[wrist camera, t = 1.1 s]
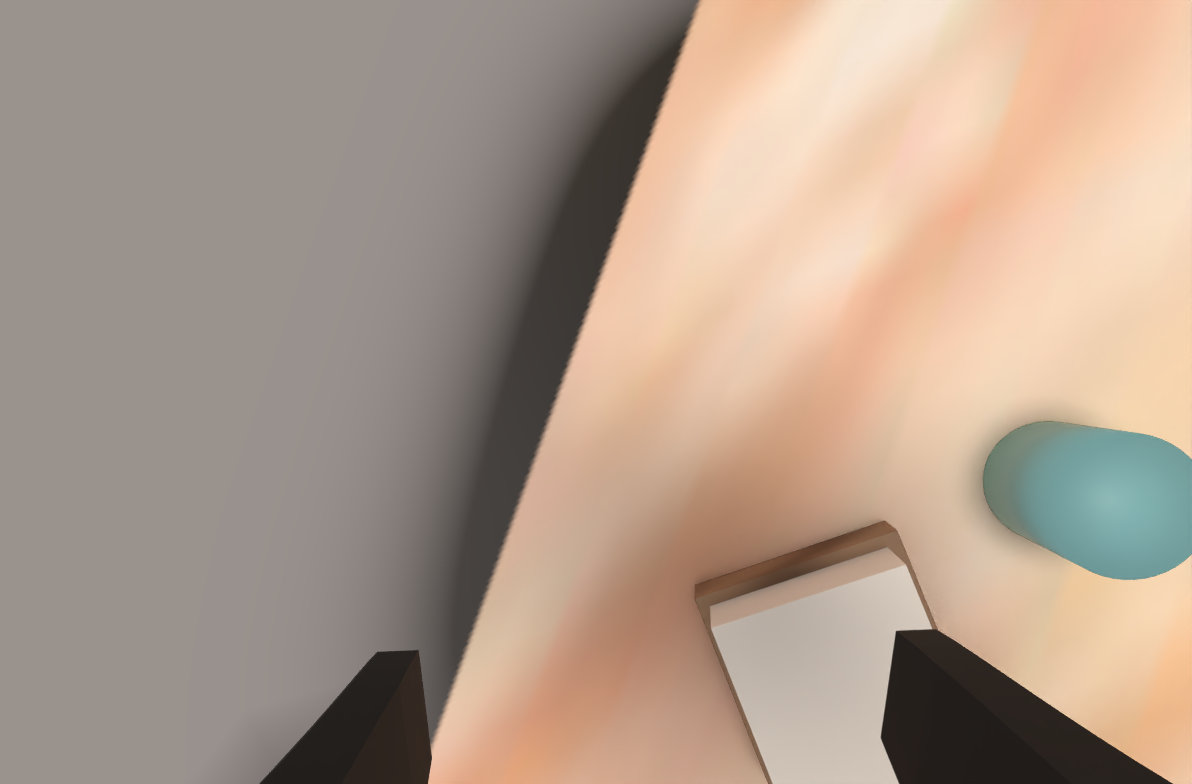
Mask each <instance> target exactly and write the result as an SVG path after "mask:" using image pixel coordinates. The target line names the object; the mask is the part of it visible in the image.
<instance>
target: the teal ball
mask: <svg viewBox="0 0 1192 784" xmlns="http://www.w3.org/2000/svg"><path fill="white" fill-rule="evenodd" d="M983 488H984V493H985V497H986V500H987V503H988V505H989V507H990V509H991V510H992V512H993V513H994V515H995V516H996V517H997V518H998V519H999V521H1000V522H1001V523H1003V524H1004V525H1005V526H1006V527H1007V528H1009V529H1010V530H1012V531H1013V532H1015V533H1017V534H1019V535H1021V536H1023V537H1025V538H1027V539H1029V540H1030V541H1032V542H1034V543H1036V544H1038V545H1040V546H1042V547H1044V548H1046V549H1048V550H1050V551H1052V552H1054V553H1056V554H1058V555H1060V556H1062V557H1063V558H1065V559H1067V560H1069V561H1071V562H1073V563H1075V564H1077V565H1079V566H1081V567H1083V568H1085V569H1087V570H1089V571H1091V572H1093V573H1096V574H1098V575H1101V576H1105V577H1109V578H1113V579H1122V580H1136V579H1145V578H1149V577H1153V576H1157V575H1160V574H1162V573H1165V572H1167V571H1169V570H1171V569H1173V568H1175V567H1176V566H1178V565H1179V564H1181V563H1182V562H1184V561H1185V560H1186V559H1187V558H1188V557H1189V556H1190V555H1191V554H1192V459H1191V458H1190V457H1189V456H1188V455H1186V454H1185V453H1184V452H1183V451H1182V450H1180V449H1179V448H1177V447H1176V446H1174V445H1172V444H1171V443H1169V442H1167V441H1164V440H1162V439H1160V438H1157V437H1154V436H1150V435H1145V434H1140V433H1133V432H1126V431H1119V430H1112V429H1105V428H1098V427H1091V426H1084V425H1077V424H1070V423H1063V422H1053V421H1046V422H1036V423H1032V424H1028V425H1025V426H1022V427H1020V428H1018V429H1016V430H1014V431H1012V432H1011V433H1009V434H1008V435H1006V436H1005V437H1004V438H1003V439H1002V440H1001V441H1000V442H999V443H998V444H997V445H996V446H995V447H994V449H993V450H992V452H991V454H990V455H989V457H988V460H987V462H986V465H985V469H984V475H983Z"/></svg>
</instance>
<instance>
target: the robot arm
mask: <svg viewBox="0 0 1192 784" xmlns="http://www.w3.org/2000/svg"><path fill="white" fill-rule="evenodd" d="M880 738H881V740H882V743H883V745H884V748H885V750H886V753H887V755H888V758H889V760H890V763H891V765H892V768H893V770H894V773H895V775H896V778H897V780H898V782H899V784H1172V783H1171V782H1169V781H1168V780H1166V779H1164V778H1163V777H1161V776H1159V775H1158V774H1156V773H1154V772H1153V771H1151V770H1150V769H1148V768H1146V767H1145V766H1143V765H1141V764H1140V763H1138V762H1137V761H1135V760H1133V759H1132V758H1130V757H1129V756H1127V755H1125V754H1124V753H1122V752H1121V751H1119V750H1118V749H1116V748H1114V747H1113V746H1111V745H1110V744H1108V743H1107V742H1105V741H1104V740H1102V739H1100V738H1099V737H1097V736H1096V735H1094V734H1093V733H1091V732H1090V731H1088V730H1087V729H1085V728H1084V727H1082V726H1081V725H1079V724H1078V723H1076V722H1075V721H1073V720H1072V719H1070V718H1069V717H1067V716H1065V715H1064V714H1062V713H1061V712H1059V711H1058V710H1056V709H1055V708H1053V707H1052V706H1051V705H1049V704H1048V703H1046V702H1045V701H1043V700H1042V699H1040V698H1039V697H1037V696H1036V695H1034V694H1033V693H1031V692H1030V691H1028V690H1027V689H1025V688H1024V687H1022V686H1021V685H1020V684H1018V683H1017V682H1015V681H1014V680H1012V679H1011V678H1009V677H1008V676H1006V675H1005V674H1003V673H1002V672H1000V671H999V670H997V669H996V668H995V667H993V666H992V665H990V664H989V663H987V662H986V661H984V660H983V659H981V658H980V657H978V656H977V655H975V654H974V653H972V652H971V651H969V650H968V649H966V648H965V647H963V646H962V645H960V644H959V643H957V642H956V641H954V640H953V639H951V638H949V637H948V636H946V635H944V634H943V633H941V632H940V631H938V630H936V629H924V630H900V631H896V634H895V641H894V647H893V654H892V661H891V668H890V675H889V682H888V689H887V696H886V703H885V710H884V716H883V723H882V730H881V737H880ZM431 761H432V755H431V747H430V739H429V732H428V723H427V715H426V707H425V699H424V691H423V682H422V674H421V667H420V658H419V651H418V650H414V651H388V652H377V653H376V654H375V655H374V656H373V657H372V658H371V659H370V660H369V661H368V662H367V663H366V665H365V666H364V667H363V668H362V669H361V670H360V672H359V673H358V674H357V675H356V676H355V677H354V679H353V680H352V681H351V682H350V683H349V684H348V686H347V687H346V688H345V689H344V690H343V691H342V693H341V694H340V695H339V696H338V697H337V698H336V699H335V701H334V702H333V703H332V704H331V705H330V706H329V708H328V709H327V710H326V711H325V712H324V713H323V714H322V716H321V717H320V718H319V719H318V720H317V721H316V722H315V723H314V725H313V726H312V727H311V728H310V729H309V730H308V731H307V732H306V734H305V735H304V736H303V737H302V738H301V739H300V740H299V741H298V742H297V744H295V746H294V747H293V748H292V749H291V750H290V751H289V752H288V753H287V754H286V755H285V757H284V758H283V759H282V760H281V761H280V762H279V763H278V764H277V765H276V766H275V768H274V769H273V770H272V771H271V772H270V773H269V774H268V775H267V776H266V777H265V778H264V779H263V781H261V783H260V784H428V779H429V773H430V767H431Z"/></svg>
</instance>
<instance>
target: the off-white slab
mask: <svg viewBox="0 0 1192 784" xmlns="http://www.w3.org/2000/svg"><path fill="white" fill-rule="evenodd" d="M710 617H711V630H712V632H713V635H714V637H715V640H716V642H717V645H718V647H719V650H720V652H721V655H722V657H723V660H724V662H725V665H726V667H727V670H728V673H729V675H730V678H731V680H732V683H733V685H734V688H735V690H736V693H737V695H738V698H739V700H740V703H741V705H742V708H743V710H744V713H745V715H746V718H747V720H748V723H749V725H750V728H751V730H752V733H753V735H754V738H755V741H756V743H757V746H758V748H759V751H760V753H761V756H762V758H763V761H764V763H765V766H766V768H767V771H768V773H769V776H770V778H771V781H772V783H773V784H899V782H898V780H897V778H896V775H895V773H894V770H893V768H892V765H891V763H890V760H889V758H888V755H887V753H886V750H885V748H884V745H883V743H882V740H881V738H880V737H881V730H882V723H883V716H884V710H885V703H886V696H887V689H888V682H889V675H890V668H891V661H892V654H893V647H894V641H895V634H896V631H900V630H924V629H932V627H931V625H930V622H929V620H928V617H927V615H926V612H925V610H924V607H923V605H922V603H921V600H920V598H919V595H918V593H917V590H916V588H915V585H914V583H913V580H912V578H911V576H910V573H909V571H908V568H907V566H906V564H905V563H904V562H903V561H902V560H901V559H900V558H899V557H897V556H896V555H895V554H894V553H893V552H892V551H891V550H890V549H889V548H888V547H886V548H883V549H880V550H877V551H874V552H871V553H868V554H865V555H862V556H859V557H856V558H853V559H850V560H847V561H844V562H841V563H838V564H835V565H832V566H829V567H826V568H823V569H820V570H817V571H814V572H811V573H808V574H805V575H802V576H799V577H796V578H793V579H790V580H787V581H784V582H781V583H778V584H775V585H772V586H769V587H766V588H763V589H760V590H757V591H754V592H751V593H748V594H745V595H742V596H739V597H736V598H733V599H730V600H727V601H724V602H721V603H718V604H715V605H712V606H710Z"/></svg>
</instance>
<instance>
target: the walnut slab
mask: <svg viewBox="0 0 1192 784" xmlns="http://www.w3.org/2000/svg"><path fill="white" fill-rule="evenodd" d="M886 547H888V548H889V549H890V550H891V551H892V552H893V553H894V554H895V555H896V556H897V557H899V558H900V559H901V560H902V561H903V562H904V563H905V564H906V566H907V568H908V571H909V573H910V576H911V578H912V580H913V583H914V585H915V588H916V590H917V593H918V595H919V598H920V600H921V603H922V605H923V607H924V610H925V612H926V615H927V617H928V620H929V622H930V625H931V627H932V629H936V630H938V629H937V627H936V624H935V622H934V619H933V617H932V615H931V612H930V610H929V607H928V605H927V602H926V600H925V597H924V595H923V593H922V590H921V588H920V585H919V583H918V580H917V578H916V575H915V573H914V570H913V568H912V566H911V563H910V561H909V558H908V556H907V553H906V551H905V548H904V546H903V544H902V541H901V539H900V536H899V534H898V531H897V530H896V529H895V528H893V527H892V526H891V525H890V524H888V523H887V522H886V521H883V522H880V523H877V524H874V525H871V526H868V527H865V528H862V529H859V530H856V531H853V532H850V533H847V534H844V535H841V536H838V537H835V538H833V539H830V540H827V541H824V542H821V543H818V544H815V545H812V546H809V547H806V548H803V549H800V550H797V551H794V552H791V553H788V554H785V555H782V556H779V557H777V558H774V559H771V560H768V561H765V562H762V563H759V564H756V565H753V566H750V567H747V568H744V569H741V570H738V571H735V572H732V573H729V574H726V575H724V576H721V577H718V578H715V579H712V580H709V581H706V582H703V583H700V584H697V585H695V601H696V603H697V606H698V608H699V611H700V613H701V616H702V618H703V621H704V623H705V626H706V628H707V631H708V633H709V636H710V639H711V641H712V644H713V646H714V649H715V651H716V654H717V656H718V659H719V661H720V664H721V666H722V669H723V671H724V674H725V676H726V679H727V681H728V684H729V686H730V689H731V691H732V694H733V696H734V699H735V702H736V704H737V707H738V709H739V712H740V714H741V717H742V719H743V722H744V724H745V727H746V729H747V732H748V734H749V737H750V739H751V742H752V744H753V747H754V749H755V752H756V754H757V757H758V759H759V762H760V764H761V767H762V770H763V772H764V775H765V777H766V780H767V782H768V784H773V783H772V781H771V778H770V776H769V773H768V771H767V768H766V766H765V763H764V761H763V758H762V756H761V753H760V751H759V748H758V746H757V743H756V741H755V738H754V735H753V733H752V730H751V728H750V725H749V723H748V720H747V718H746V715H745V713H744V710H743V708H742V705H741V703H740V700H739V698H738V695H737V693H736V690H735V688H734V685H733V683H732V680H731V678H730V675H729V673H728V670H727V667H726V665H725V662H724V660H723V657H722V655H721V652H720V650H719V647H718V645H717V642H716V640H715V637H714V635H713V632H712V630H711V617H710V606H712V605H715V604H718V603H721V602H724V601H727V600H730V599H733V598H736V597H739V596H742V595H745V594H748V593H751V592H754V591H757V590H760V589H763V588H766V587H769V586H772V585H775V584H778V583H781V582H784V581H787V580H790V579H793V578H796V577H799V576H802V575H805V574H808V573H811V572H814V571H817V570H820V569H823V568H826V567H829V566H832V565H835V564H838V563H841V562H844V561H847V560H850V559H853V558H856V557H859V556H862V555H865V554H868V553H871V552H874V551H877V550H880V549H883V548H886Z"/></svg>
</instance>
